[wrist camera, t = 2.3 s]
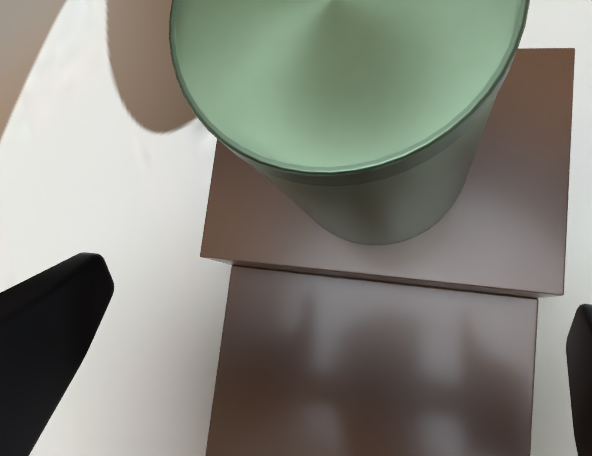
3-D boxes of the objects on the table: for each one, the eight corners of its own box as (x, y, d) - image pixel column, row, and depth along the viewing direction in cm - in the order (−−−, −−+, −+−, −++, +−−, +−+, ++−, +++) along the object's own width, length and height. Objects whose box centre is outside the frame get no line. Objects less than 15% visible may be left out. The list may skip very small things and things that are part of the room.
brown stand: (516, 512, 19) (550, 582, 14) (221, 450, 22) (164, 490, 17) (538, 108, 21) (575, 47, 16) (267, 103, 24) (229, 50, 19)
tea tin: (443, 268, 16) (474, 216, 7) (269, 220, 17) (123, 132, 9) (490, 91, 16) (573, -155, 8) (317, 61, 18) (225, -169, 9)
